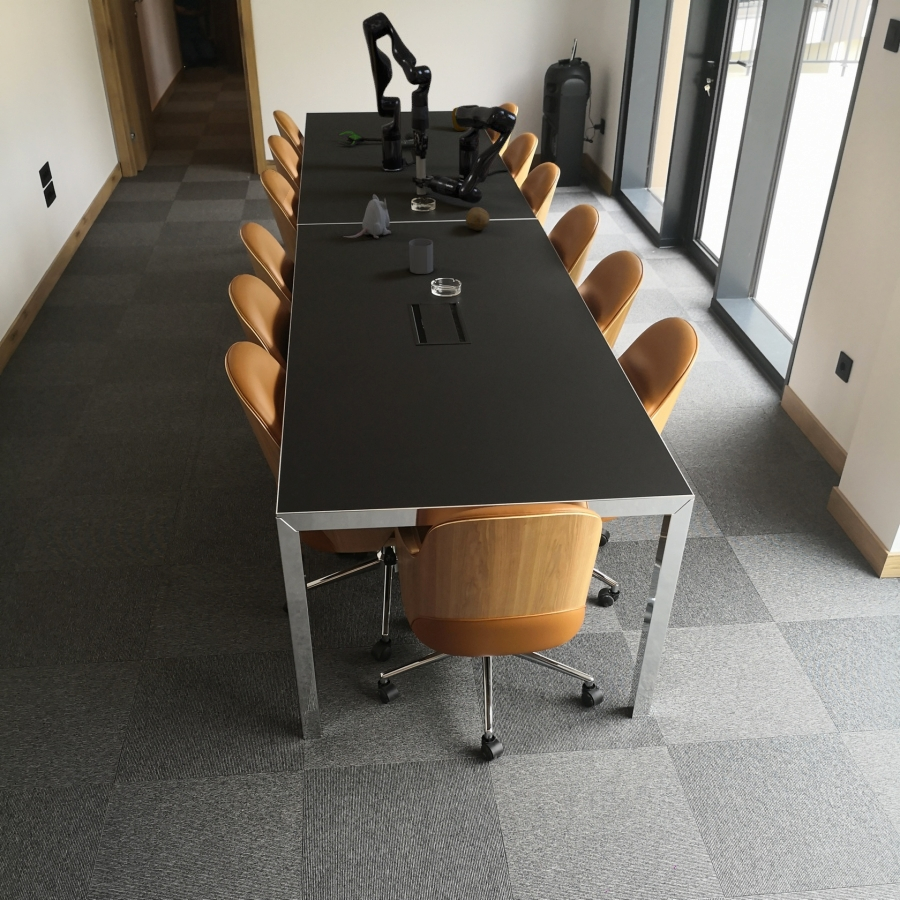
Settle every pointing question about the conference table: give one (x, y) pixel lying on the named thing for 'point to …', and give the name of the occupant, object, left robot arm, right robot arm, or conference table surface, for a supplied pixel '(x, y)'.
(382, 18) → the left robot arm
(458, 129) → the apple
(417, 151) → the lid
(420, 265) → the cup
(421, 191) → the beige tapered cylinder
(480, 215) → the potato
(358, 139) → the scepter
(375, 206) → the toy
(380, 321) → the conference table surface
